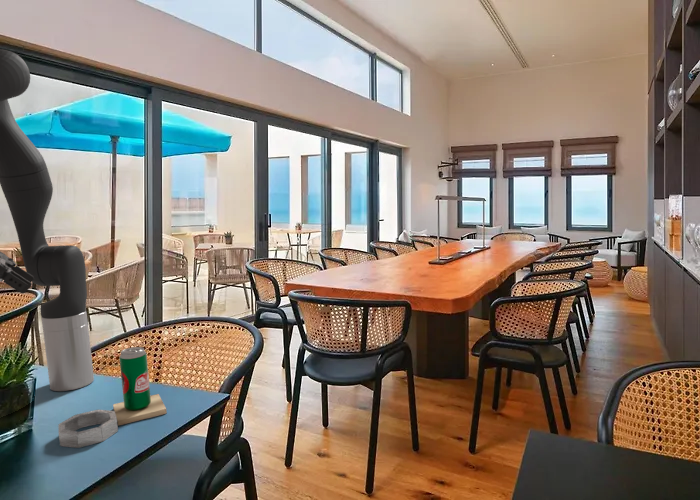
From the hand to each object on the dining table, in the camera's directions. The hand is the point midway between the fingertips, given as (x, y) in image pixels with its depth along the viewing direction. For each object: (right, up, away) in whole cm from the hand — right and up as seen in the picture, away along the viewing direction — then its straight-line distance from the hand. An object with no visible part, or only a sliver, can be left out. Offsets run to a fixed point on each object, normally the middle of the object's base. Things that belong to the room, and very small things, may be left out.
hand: (29, 285), depth 90 cm
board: (+15, -27, +12) cm, 33 cm away
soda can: (+14, -26, +12) cm, 32 cm away
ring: (+9, -28, +3) cm, 30 cm away
